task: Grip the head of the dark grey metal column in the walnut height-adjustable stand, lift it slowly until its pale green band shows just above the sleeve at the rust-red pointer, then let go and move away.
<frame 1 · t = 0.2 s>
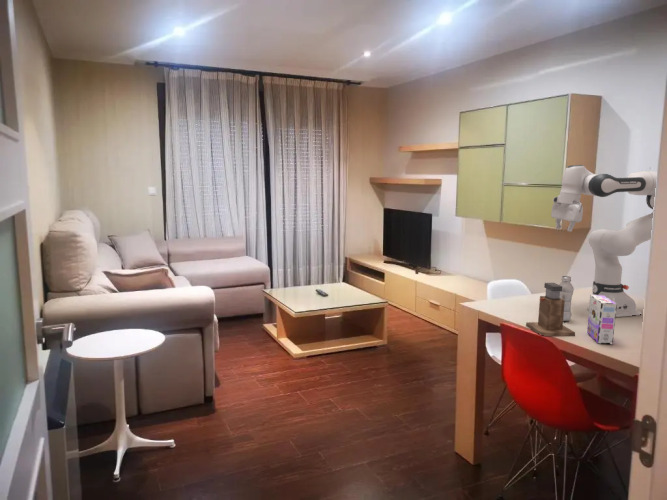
hand: (563, 230, 233), 39 cm above the table, tool pointing down, fingers open, 8 cm apart
candy box: (599, 339, 201), on the table
stand: (549, 330, 210), on the table
plastic bottle: (562, 321, 225), on the table
column: (551, 305, 209), point 11 cm above the table, slide at 0.0 cm
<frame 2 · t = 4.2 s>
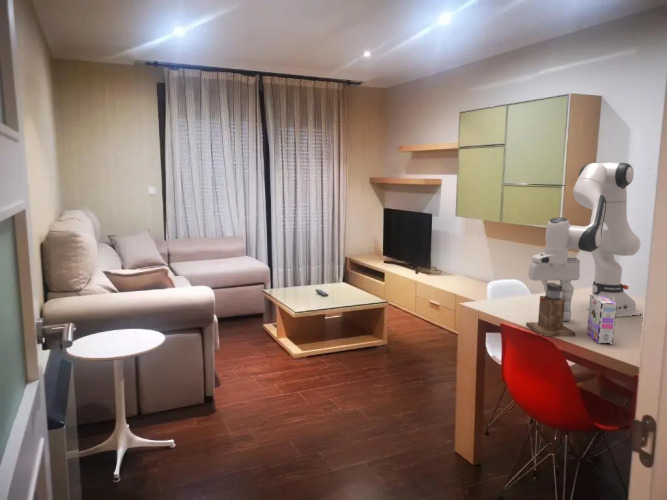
hand: (552, 290, 208), 17 cm above the table, tool pointing down, fingers closed on column, 4 cm apart
column: (551, 305, 209), point 11 cm above the table, slide at 0.0 cm, touching gripper
everything else where it was.
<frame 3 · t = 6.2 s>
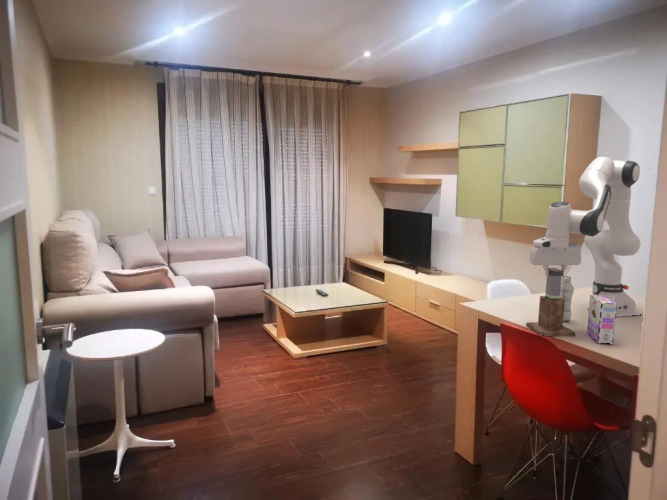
hand: (554, 275, 207), 23 cm above the table, tool pointing down, fingers closed on column, 4 cm apart
column: (552, 291, 208), point 17 cm above the table, slide at 6.3 cm, touching gripper
everything else where it was.
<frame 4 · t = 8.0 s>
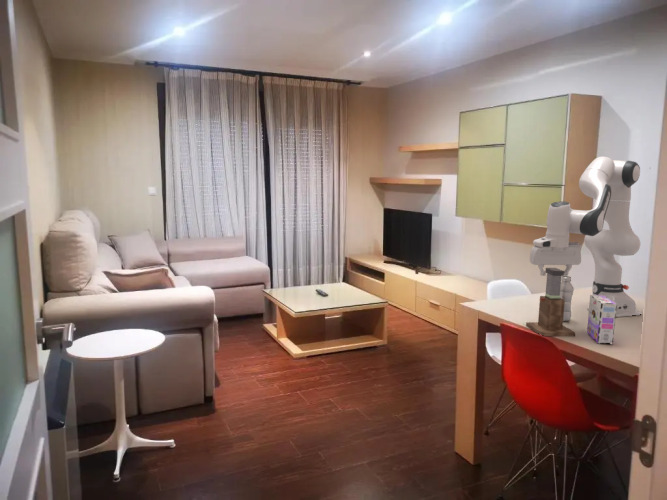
hand: (554, 275, 207), 24 cm above the table, tool pointing down, fingers open, 8 cm apart
column: (552, 290, 208), point 17 cm above the table, slide at 6.4 cm
everything else where it was.
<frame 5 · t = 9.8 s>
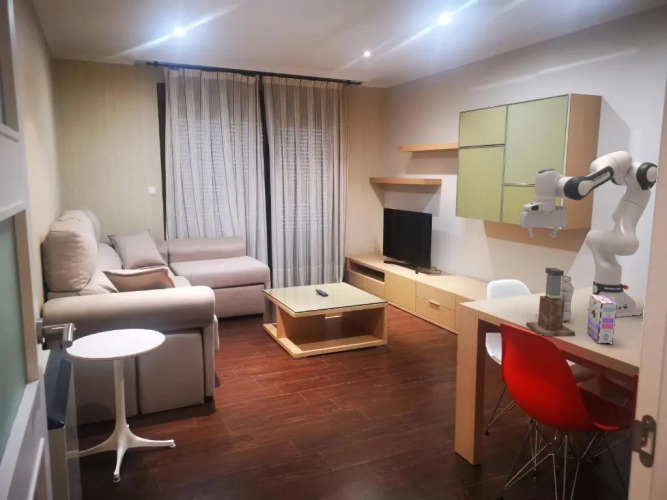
hand: (542, 237, 224), 37 cm above the table, tool pointing down, fingers open, 8 cm apart
nothing on the table moved.
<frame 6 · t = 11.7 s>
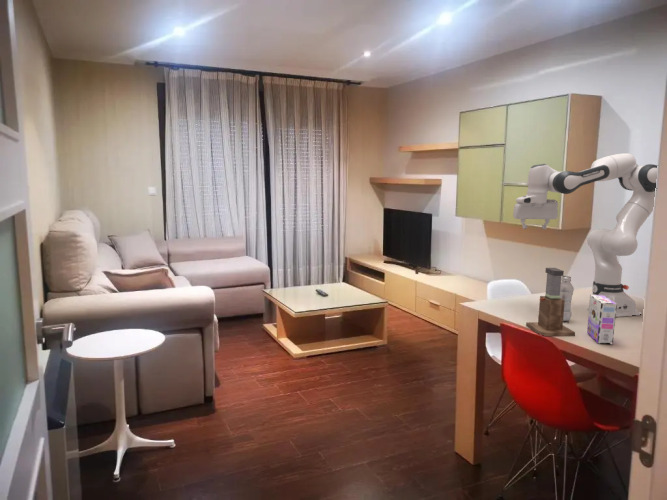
hand: (534, 228, 237), 39 cm above the table, tool pointing down, fingers open, 8 cm apart
nothing on the table moved.
at the end: column slide at 6.4 cm; the gripper is holding nothing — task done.
